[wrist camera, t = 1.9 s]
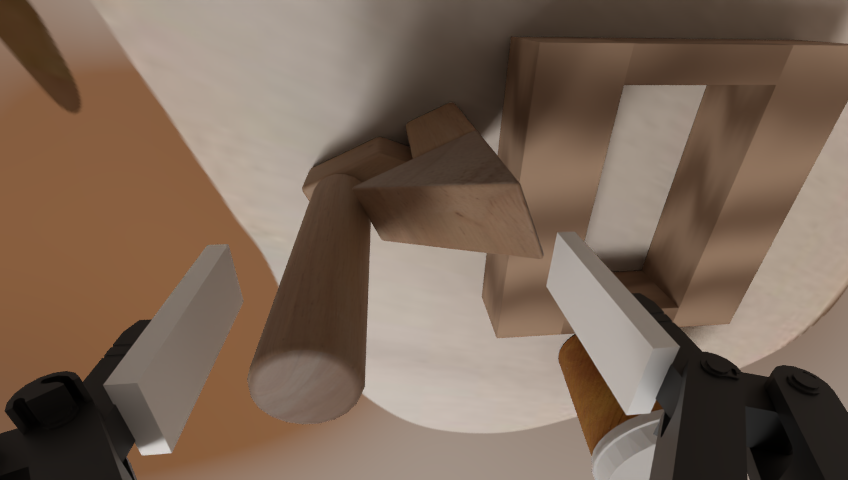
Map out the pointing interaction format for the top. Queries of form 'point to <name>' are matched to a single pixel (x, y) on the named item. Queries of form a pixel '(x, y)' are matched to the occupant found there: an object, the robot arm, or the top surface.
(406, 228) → the wooden post with wedge
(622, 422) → the disposable coffee cup
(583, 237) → the walnut slotted base
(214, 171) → the top surface
